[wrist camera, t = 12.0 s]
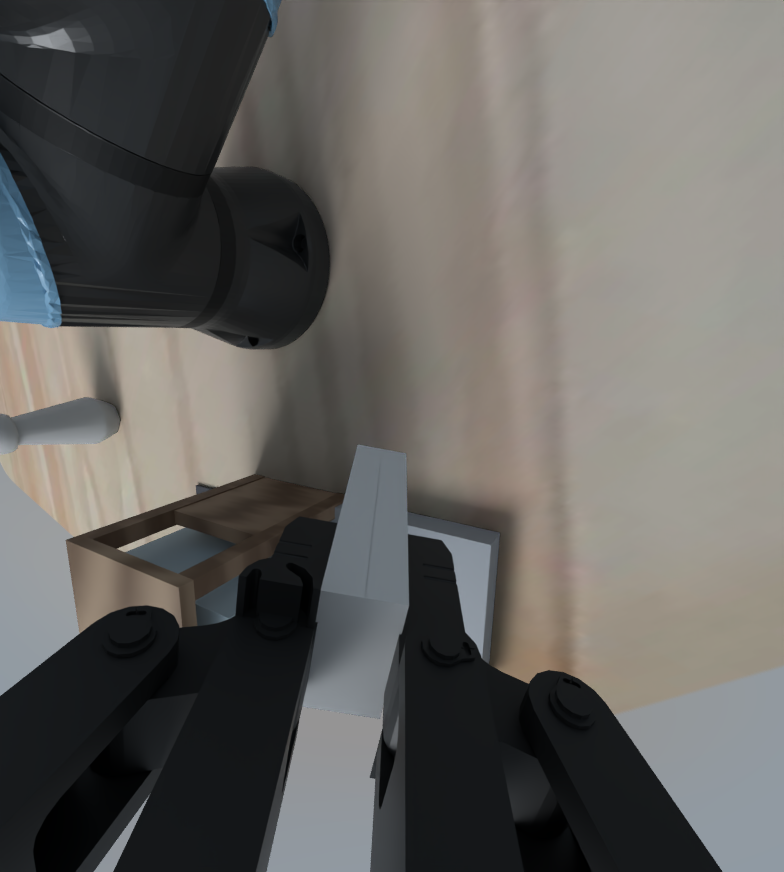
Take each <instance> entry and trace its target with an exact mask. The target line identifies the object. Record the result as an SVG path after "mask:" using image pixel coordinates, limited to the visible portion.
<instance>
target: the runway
mask: <svg viewBox="0 0 784 872" xmlns="http://www.w3.org/2000/svg"><path fill="white" fill-rule="evenodd" d="M342 504H343V503H342ZM342 504H340V505H338V506H337V507H335V519H334V520H332V521H330V522H335V523H338V520H339V516H340V512H341V508H342ZM407 521H408V534H410V535H416V536H422V537H427V538H433V539H439V540H442V541H443V543H444V544H445V545H446V547H447V548H448V549H449V551H450V552H451V553H452V557H453V563H454V572H455V575H456V581H457V582H456V584H457V586H458V592H459V598H460V604H461V610H462V616H463V621H464V627H465V633H467V634H468V636H469V637H470V638H471V639H472V640H473V641H474V642H475V643H476V645H477V647H478V650H479V652H480V654H481V657H482V659H483V660H484V661H485V662H487V663H488V664H489V661H490V649H491V637H492V625H493V612H494V600H495V588H496V576H497V564H498V552H499V540H500V533H499V532H495V531H490V530H486V529H482V528H477V527H473V526H468V525H464V524H459V523H455V522H451V521H446V520H442V519H437V518H433V517H428V516H424V515H420V514H415V513H411V512H407Z"/></svg>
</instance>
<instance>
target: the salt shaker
mask: <svg viewBox="0 0 784 872" xmlns="http://www.w3.org/2000/svg"><path fill="white" fill-rule="evenodd" d="M119 424H120V418H119V415H118V412H117V410H116V407H115V406H113V405H112V404H110V403H108V402H105V401H101V400H98V399H94V398H89V397H84V398H80V399H77V400H73V401H69V402H66V403H62V404H59V405H55V406H51V407H48V408H44V409H40V410H37V411H33V412H30V413H26V414H22V415H19V416H15V417H11V418H10V417H9V416H8V415H5V414H0V454H7V453H11V452H13V451H15V450H16V449H17V448H18V445H43V444H97V443H100V442H102V441H103V440H105V439H107V438H108V437H110V436H112V435H113V434H115V433H117V432H118V429H119Z"/></svg>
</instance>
